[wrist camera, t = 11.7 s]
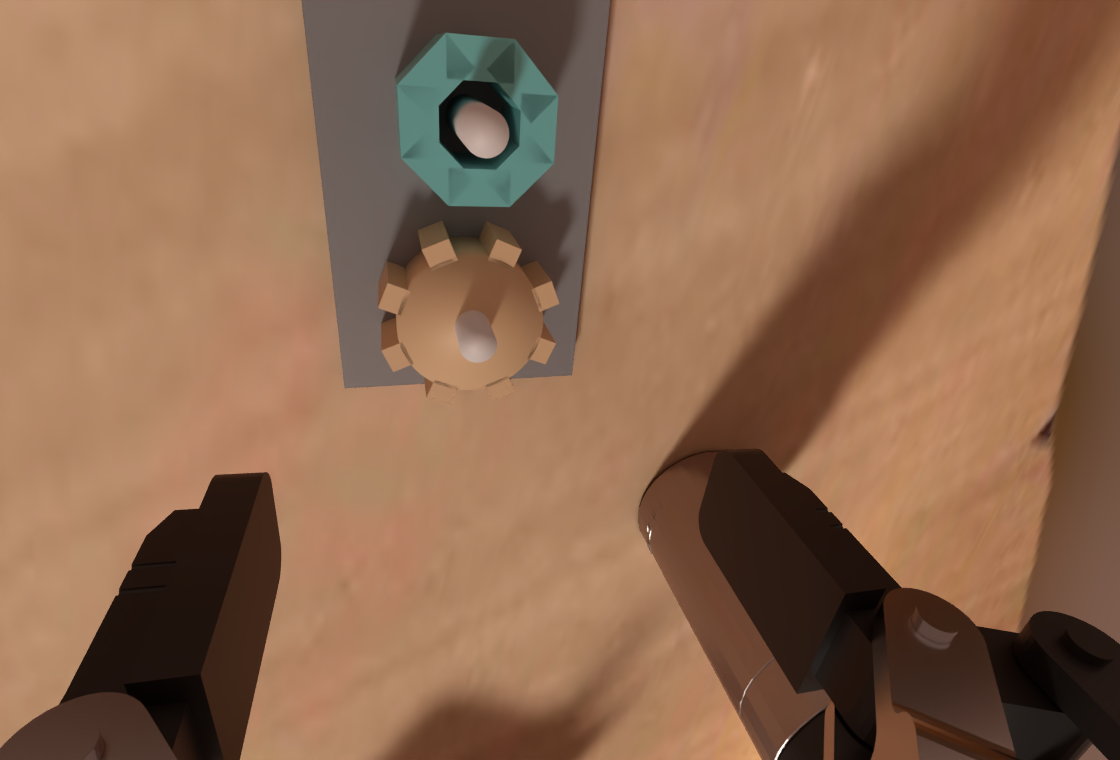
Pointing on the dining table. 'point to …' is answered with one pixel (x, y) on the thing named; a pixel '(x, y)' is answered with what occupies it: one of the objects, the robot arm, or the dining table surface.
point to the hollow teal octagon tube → (522, 107)
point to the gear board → (427, 221)
